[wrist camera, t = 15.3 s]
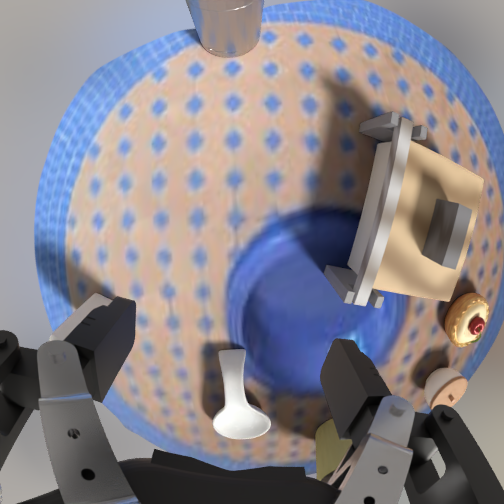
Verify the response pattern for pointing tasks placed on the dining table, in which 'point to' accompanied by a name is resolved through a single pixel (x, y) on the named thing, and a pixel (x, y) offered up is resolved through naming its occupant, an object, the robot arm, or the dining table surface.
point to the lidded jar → (444, 387)
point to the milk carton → (79, 316)
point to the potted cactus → (329, 450)
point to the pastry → (466, 319)
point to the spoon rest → (238, 401)
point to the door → (419, 223)
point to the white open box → (369, 206)
